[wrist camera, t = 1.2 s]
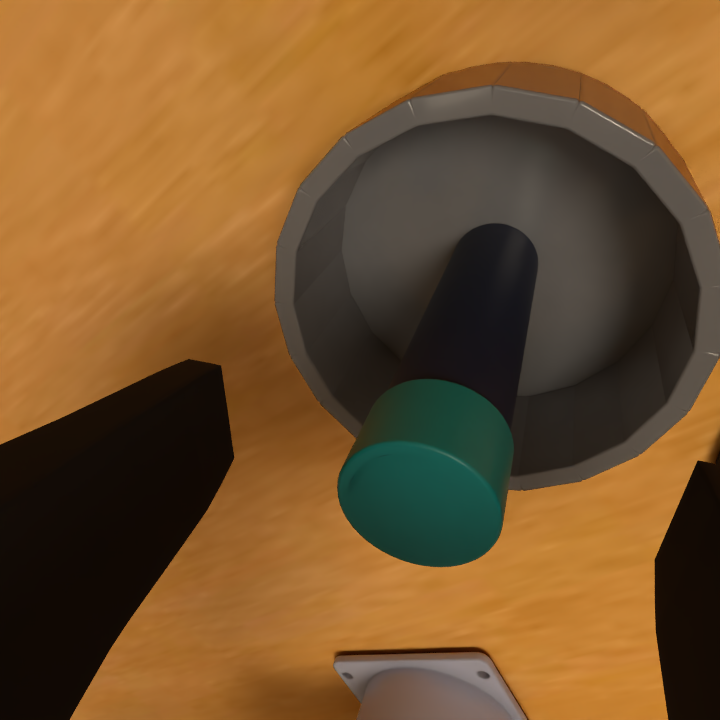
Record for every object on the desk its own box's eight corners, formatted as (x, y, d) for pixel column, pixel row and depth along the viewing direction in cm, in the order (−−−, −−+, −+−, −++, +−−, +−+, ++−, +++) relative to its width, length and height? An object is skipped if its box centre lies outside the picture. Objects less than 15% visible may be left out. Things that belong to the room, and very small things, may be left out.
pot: (739, 350, 15) (779, 450, 12) (419, 427, 20) (386, 514, 17) (626, -29, 12) (640, -30, 9) (274, 168, 17) (200, 213, 13)
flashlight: (556, 287, 15) (528, 559, 8) (470, 315, 17) (382, 575, 9) (522, 203, 15) (458, 425, 7) (434, 239, 16) (306, 461, 9)
